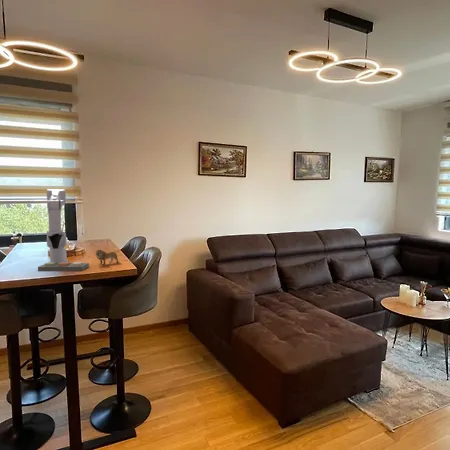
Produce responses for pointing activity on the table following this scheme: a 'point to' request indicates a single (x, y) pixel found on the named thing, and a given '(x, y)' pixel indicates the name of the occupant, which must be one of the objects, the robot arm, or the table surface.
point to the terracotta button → (64, 263)
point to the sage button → (50, 263)
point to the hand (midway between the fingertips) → (55, 248)
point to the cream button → (77, 264)
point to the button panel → (63, 267)
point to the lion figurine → (106, 256)
